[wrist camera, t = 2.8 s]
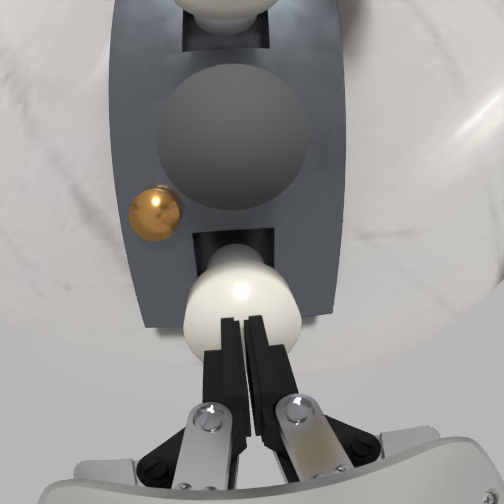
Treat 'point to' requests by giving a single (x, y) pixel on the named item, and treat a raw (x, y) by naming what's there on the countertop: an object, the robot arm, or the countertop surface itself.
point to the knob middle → (232, 137)
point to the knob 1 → (225, 14)
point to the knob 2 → (239, 301)
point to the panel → (209, 219)
